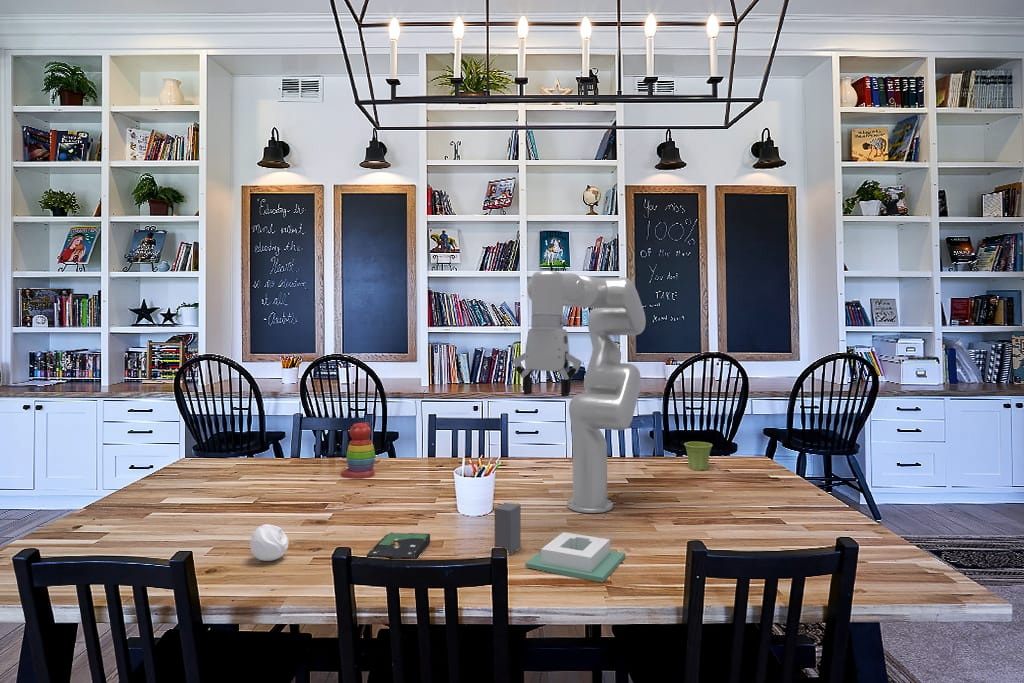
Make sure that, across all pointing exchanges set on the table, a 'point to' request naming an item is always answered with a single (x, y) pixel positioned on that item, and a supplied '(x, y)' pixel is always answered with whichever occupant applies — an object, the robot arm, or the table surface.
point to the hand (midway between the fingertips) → (546, 395)
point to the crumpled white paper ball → (268, 542)
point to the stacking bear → (360, 453)
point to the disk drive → (400, 546)
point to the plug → (508, 526)
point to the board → (581, 574)
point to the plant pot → (698, 455)
